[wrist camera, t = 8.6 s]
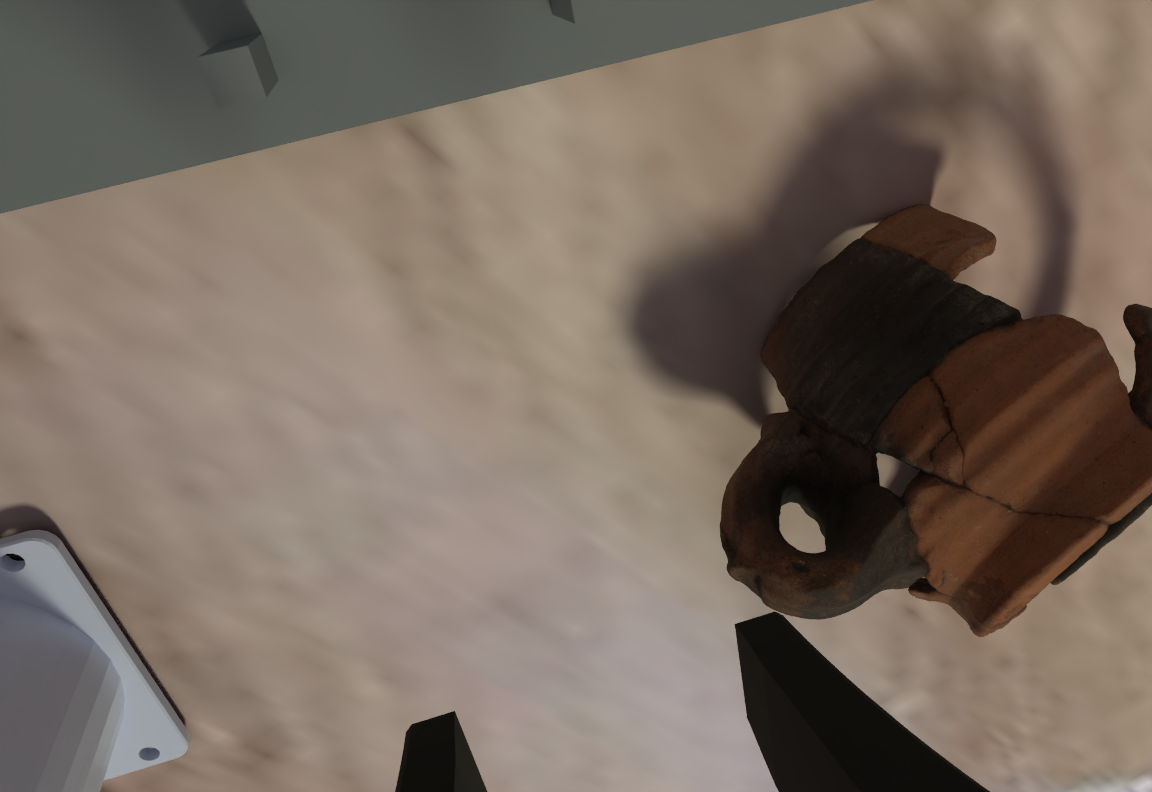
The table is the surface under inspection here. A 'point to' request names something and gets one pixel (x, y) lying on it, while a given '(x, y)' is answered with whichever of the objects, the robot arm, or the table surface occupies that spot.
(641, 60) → the table surface
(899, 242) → the pottery mug
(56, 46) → the miniature lathe model
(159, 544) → the table surface
